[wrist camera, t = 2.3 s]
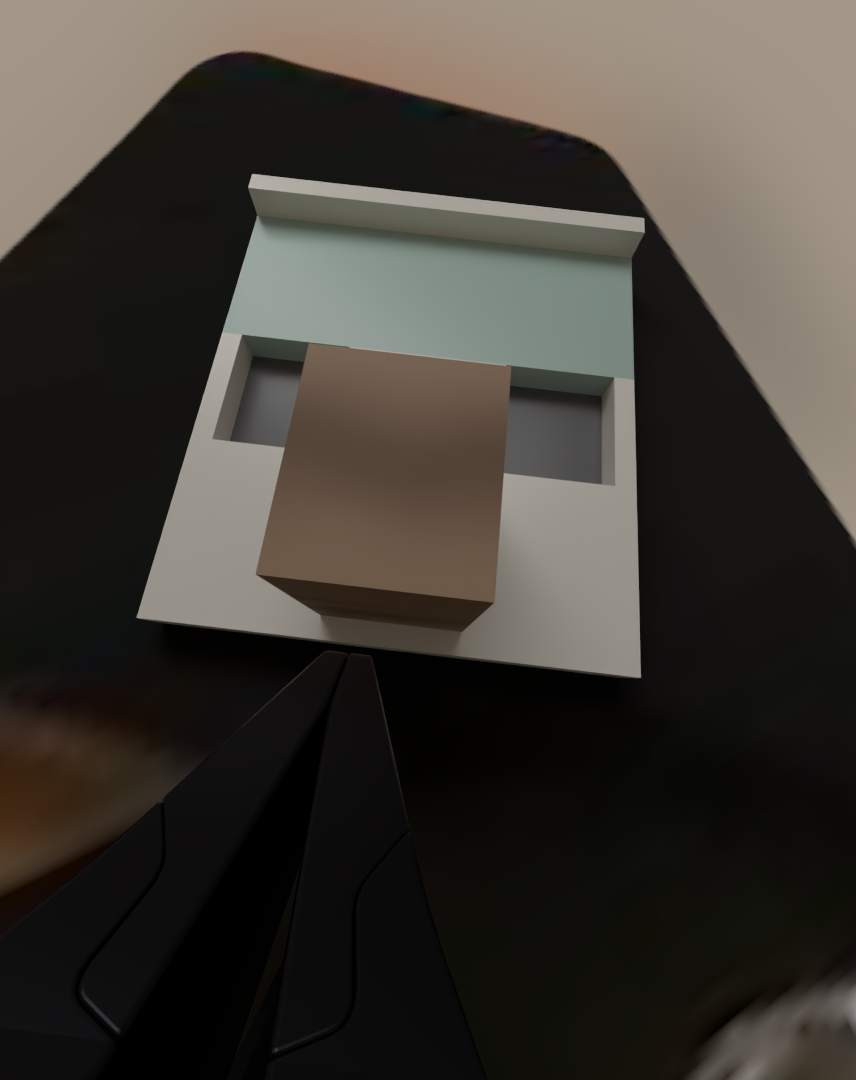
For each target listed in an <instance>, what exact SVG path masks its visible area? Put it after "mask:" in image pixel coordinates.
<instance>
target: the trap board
mask: <svg viewBox="0 0 856 1080" xmlns="http://www.w3.org/2000/svg"><path fill="white" fill-rule="evenodd" d="M248 189H249V192H250V194H251V197H252V200H253V203H254V206H255V209H256V212H257V215H258V216H257V220H256V223H255V226H254V229H253V233H252V236H251V239H250V243H249V246H248V249H247V253H246V256H245V259H244V263H243V266H242V269H241V273H240V276H239V279H238V283H237V286H236V289H235V293H234V296H233V299H232V303H231V306H230V309H229V313H228V316H227V319H226V323H225V326H224V329H223V332H222V336H221V339H220V342H219V346H218V349H217V352H216V356H215V359H214V362H213V366H212V369H211V372H210V376H209V379H208V382H207V386H206V389H205V392H204V396H203V399H202V402H201V406H200V409H199V412H198V416H197V419H196V422H195V426H194V429H193V432H192V435H191V439H190V442H189V445H188V449H187V452H186V455H185V459H184V462H183V465H182V469H181V472H180V475H179V479H178V482H177V485H176V489H175V492H174V495H173V499H172V502H171V505H170V509H169V512H168V515H167V519H166V522H165V525H164V529H163V532H162V535H161V538H160V542H159V545H158V548H157V552H156V555H155V558H154V562H153V565H152V568H151V572H150V575H149V578H148V582H147V585H146V588H145V592H144V595H143V598H142V602H141V605H140V608H139V612H138V615H137V618H140V619H145V620H150V621H154V622H159V623H165V624H174V625H182V626H191V627H199V628H207V629H216V630H224V631H232V632H241V633H249V634H258V635H266V636H274V637H283V638H291V639H300V640H308V641H316V642H325V643H333V644H342V645H350V646H358V647H367V648H375V649H383V650H392V651H400V652H409V653H417V654H425V655H434V656H442V657H451V658H459V659H467V660H476V661H484V662H492V663H501V664H509V665H518V666H526V667H534V668H543V669H551V670H560V671H568V672H576V673H585V674H593V675H601V676H610V677H618V678H641V664H640V620H639V575H638V531H637V487H636V442H635V398H634V353H633V309H632V264H631V258H632V256H633V254H634V252H635V250H636V248H637V246H638V244H639V242H640V240H641V238H642V237H643V235H644V233H645V230H644V218H636V217H627V216H618V215H610V214H601V213H592V212H583V211H574V210H565V209H557V208H548V207H539V206H530V205H521V204H512V203H504V202H495V201H486V200H477V199H468V198H459V197H450V196H442V195H433V194H424V193H415V192H406V191H397V190H389V189H380V188H371V187H362V186H353V185H344V184H335V183H327V182H318V181H309V180H300V179H291V178H282V177H274V176H265V175H256V174H252V177H251V180H250V183H249V187H248ZM309 343H312V344H320V345H329V346H338V347H346V348H355V349H364V350H373V351H381V352H390V353H399V354H407V355H416V356H425V357H433V358H442V359H451V360H459V361H468V362H477V363H485V364H494V365H503V366H511V379H510V393H509V407H508V421H507V435H506V449H505V463H504V477H503V491H502V505H501V519H500V533H499V547H498V561H497V575H496V589H495V603H494V604H493V605H491V606H490V607H489V608H488V609H487V610H486V611H485V612H484V613H483V614H481V615H480V616H479V617H478V618H477V619H476V620H475V621H474V622H473V623H471V624H470V625H469V626H468V627H467V628H466V629H465V630H464V631H463V632H458V631H450V630H441V629H433V628H424V627H416V626H408V625H399V624H391V623H382V622H374V621H366V620H357V619H349V618H340V617H332V616H324V615H319V614H318V613H316V612H314V611H313V610H311V609H310V608H308V607H307V606H305V605H303V604H302V603H300V602H299V601H297V600H295V599H294V598H292V597H291V596H289V595H287V594H286V593H284V592H283V591H281V590H279V589H278V588H276V587H275V586H273V585H272V584H270V583H268V582H267V581H265V580H264V579H262V578H260V577H259V576H257V575H256V570H257V565H258V561H259V557H260V552H261V548H262V544H263V539H264V535H265V531H266V526H267V522H268V518H269V513H270V509H271V505H272V501H273V496H274V492H275V488H276V483H277V479H278V475H279V470H280V466H281V462H282V457H283V453H284V449H285V444H286V440H287V436H288V431H289V427H290V423H291V418H292V414H293V410H294V405H295V401H296V397H297V392H298V388H299V384H300V379H301V375H302V371H303V366H304V362H305V358H306V353H307V349H308V345H309Z"/></svg>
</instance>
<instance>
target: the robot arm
mask: <svg viewBox="0 0 856 1080" xmlns="http://www.w3.org/2000/svg"><path fill="white" fill-rule="evenodd" d="M409 832H410V827H409V822H408V818H407V813H406V809H405V804H404V800H403V795H402V791H401V786H400V781H399V777H398V772H397V768H396V763H395V759H394V754H393V750H392V745H391V741H390V736H389V732H388V727H387V722H386V718H385V713H384V709H383V704H382V700H381V695H380V691H379V686H378V682H377V677H376V672H375V668H374V663H373V659H372V657H371V656H370V655H364V654H355V653H351V654H350V655H349V656H348V654H347V653H345V652H339V651H330V650H327V651H325V652H323V653H322V654H321V655H320V656H319V657H317V658H316V659H315V660H314V661H313V662H312V663H311V664H310V665H309V666H308V667H306V668H305V669H304V670H303V671H302V672H301V673H300V674H299V675H298V676H297V677H296V678H294V679H293V680H292V681H291V682H290V683H289V684H288V685H287V686H286V687H285V688H283V689H282V690H281V691H280V692H279V693H278V694H277V695H276V696H275V697H274V698H272V699H271V700H270V701H269V702H268V703H267V704H266V705H265V706H264V707H263V708H262V709H260V710H259V711H258V712H257V713H256V714H255V715H254V716H253V717H252V718H251V719H249V720H248V721H247V722H246V723H245V724H244V725H243V726H242V727H241V728H240V729H238V730H237V731H236V732H235V733H234V734H233V735H232V736H231V737H230V738H229V739H228V740H226V741H225V742H224V743H223V744H222V745H221V746H220V747H219V748H218V749H217V750H215V751H214V752H213V753H212V754H211V755H210V756H209V757H208V758H207V759H206V760H204V761H203V762H202V763H201V764H200V765H199V766H198V767H197V768H196V769H195V770H194V771H192V772H191V773H190V774H189V775H188V776H187V777H186V778H185V779H184V780H183V781H181V782H180V783H179V784H178V785H177V786H176V787H175V788H174V789H173V790H172V791H170V792H169V793H168V794H167V795H166V796H165V797H164V798H163V803H161V802H159V803H157V804H156V805H155V806H154V807H153V808H152V809H150V810H149V811H148V812H147V813H146V814H145V815H144V816H143V817H142V818H141V819H139V820H138V821H137V822H136V823H135V824H134V825H133V826H132V827H131V828H129V829H128V830H127V831H126V832H125V833H124V834H123V835H121V836H120V837H119V838H118V839H117V840H116V841H115V842H113V843H112V844H111V845H110V846H109V847H108V848H107V849H105V850H104V851H103V852H102V853H101V854H100V855H99V856H97V857H96V858H95V859H94V860H93V861H92V862H90V863H89V864H88V865H87V866H85V867H84V868H83V869H82V870H81V871H79V872H78V873H77V874H76V875H74V876H73V877H72V878H71V879H69V880H68V881H67V882H66V883H64V884H63V885H62V886H61V887H60V888H58V889H57V890H56V891H55V892H53V893H52V894H51V895H50V896H48V897H47V898H46V899H45V900H44V901H42V902H41V903H40V904H39V905H37V906H36V907H35V908H33V909H32V910H31V911H30V912H28V913H27V914H26V915H25V916H23V917H22V918H21V919H19V920H18V921H17V922H16V923H14V924H13V925H12V926H10V927H9V928H8V929H7V930H5V931H4V932H3V933H2V934H0V1080H487V1077H486V1075H485V1072H484V1069H483V1066H482V1063H481V1060H480V1057H479V1054H478V1051H477V1049H476V1046H475V1043H474V1040H473V1037H472V1034H471V1031H470V1028H469V1025H468V1023H467V1020H466V1017H465V1014H464V1011H463V1008H462V1005H461V1002H460V999H459V996H458V994H457V991H456V988H455V985H454V982H453V979H452V976H451V973H450V970H449V968H448V965H447V962H446V959H445V956H444V953H443V950H442V947H441V944H440V940H439V937H438V934H437V931H436V927H435V924H434V921H433V918H432V915H431V911H430V908H429V905H428V901H427V897H426V893H425V890H424V886H423V882H422V878H421V874H420V870H419V866H418V862H417V857H416V853H415V848H414V844H413V839H412V835H411V834H410V833H409ZM300 863H301V864H300ZM299 866H300V870H299V875H298V881H297V887H296V892H295V898H294V904H293V909H292V915H291V920H290V926H289V932H288V937H287V943H286V948H285V954H284V959H283V961H282V963H281V965H280V967H279V969H278V971H277V973H276V975H275V977H274V979H273V981H272V983H271V985H270V988H269V990H268V992H267V994H266V996H265V998H264V1000H263V1002H262V1004H261V1006H260V1008H259V1010H258V1012H257V1014H256V1017H255V1019H254V1021H253V1023H252V1025H251V1027H250V1029H249V1031H248V1033H247V1035H246V1037H245V1039H244V1041H243V1044H242V1046H241V1048H240V1050H239V1052H238V1054H237V1056H236V1058H235V1060H234V1057H235V1054H236V1051H237V1048H238V1045H239V1042H240V1039H241V1036H242V1033H243V1031H244V1028H245V1025H246V1022H247V1019H248V1016H249V1013H250V1010H251V1007H252V1004H253V1001H254V998H255V995H256V992H257V989H258V986H259V983H260V981H261V978H262V975H263V972H264V969H265V966H266V963H267V960H268V957H269V954H270V951H271V948H272V945H273V942H274V939H275V936H276V933H277V930H278V928H279V925H280V922H281V919H282V916H283V913H284V910H285V907H286V904H287V901H288V898H289V895H290V892H291V889H292V886H293V883H294V880H295V878H296V875H297V872H298V869H299ZM233 1060H234V1062H233ZM232 1063H233V1064H232Z"/></svg>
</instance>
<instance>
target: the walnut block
mask: <svg viewBox="0 0 856 1080" xmlns="http://www.w3.org/2000/svg"><path fill="white" fill-rule="evenodd" d="M510 379H511V366H503V365H494V364H485V363H477V362H468V361H459V360H451V359H442V358H433V357H425V356H416V355H407V354H399V353H390V352H381V351H373V350H364V349H355V348H346V347H338V346H329V345H320V344H312V343H309V345H308V349H307V353H306V358H305V362H304V366H303V371H302V375H301V379H300V384H299V388H298V392H297V397H296V401H295V405H294V410H293V414H292V418H291V423H290V427H289V431H288V436H287V440H286V444H285V449H284V453H283V457H282V462H281V466H280V470H279V475H278V479H277V483H276V488H275V492H274V496H273V501H272V505H271V509H270V513H269V518H268V522H267V526H266V531H265V535H264V539H263V544H262V548H261V552H260V557H259V561H258V565H257V570H256V575H257V576H259V577H260V578H262V579H264V580H265V581H267V582H268V583H270V584H272V585H273V586H275V587H276V588H278V589H279V590H281V591H283V592H284V593H286V594H287V595H289V596H291V597H292V598H294V599H295V600H297V601H299V602H300V603H302V604H303V605H305V606H307V607H308V608H310V609H311V610H313V611H314V612H316V613H318V614H319V615H324V616H332V617H340V618H349V619H357V620H366V621H374V622H382V623H391V624H399V625H408V626H416V627H424V628H433V629H441V630H450V631H458V632H463V631H464V630H465V629H466V628H467V627H468V626H469V625H470V624H471V623H473V622H474V621H475V620H476V619H477V618H478V617H479V616H480V615H481V614H483V613H484V612H485V611H486V610H487V609H488V608H489V607H490V606H491V605H493V604H494V603H495V589H496V575H497V561H498V547H499V533H500V519H501V505H502V491H503V477H504V463H505V449H506V435H507V421H508V407H509V393H510Z"/></svg>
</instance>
